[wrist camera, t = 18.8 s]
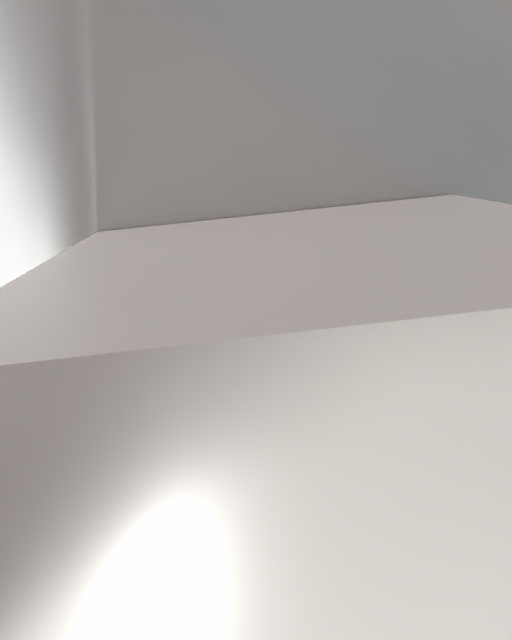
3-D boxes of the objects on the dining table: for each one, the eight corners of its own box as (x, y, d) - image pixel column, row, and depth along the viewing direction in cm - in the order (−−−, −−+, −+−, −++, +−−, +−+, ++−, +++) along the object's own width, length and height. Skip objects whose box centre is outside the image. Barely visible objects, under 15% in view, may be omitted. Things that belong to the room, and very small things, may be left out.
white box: (159, 512, 16) (88, 893, 8) (97, 231, 12) (-168, 383, 4) (434, 478, 16) (651, 812, 8) (452, 194, 13) (888, 266, 4)
